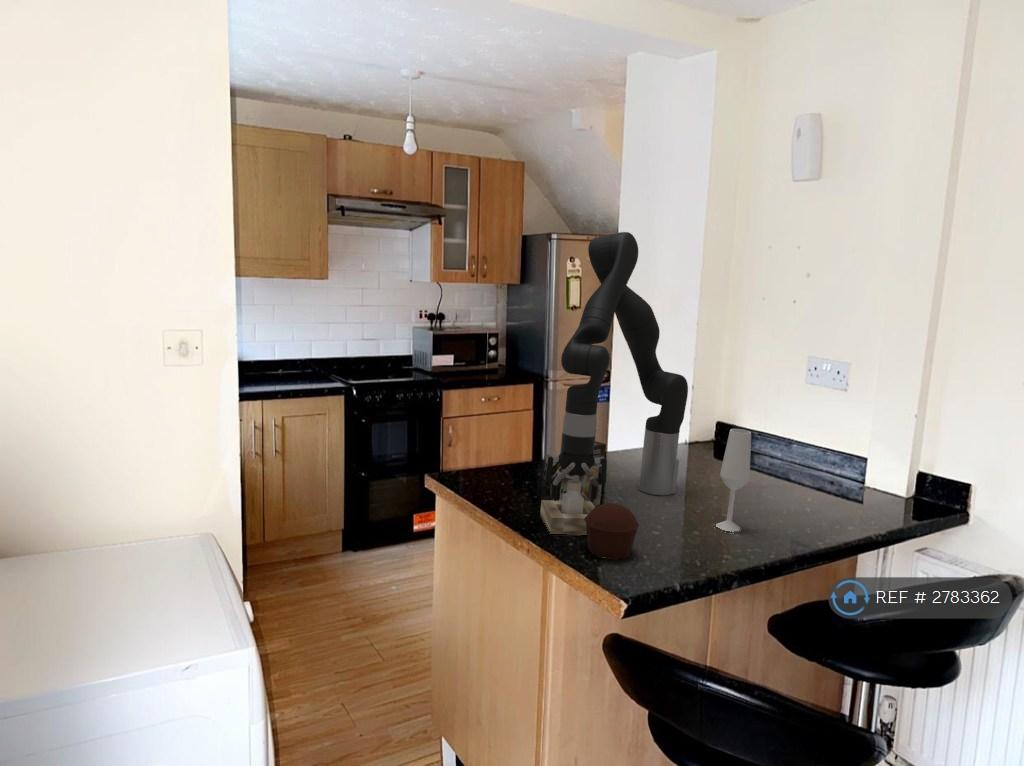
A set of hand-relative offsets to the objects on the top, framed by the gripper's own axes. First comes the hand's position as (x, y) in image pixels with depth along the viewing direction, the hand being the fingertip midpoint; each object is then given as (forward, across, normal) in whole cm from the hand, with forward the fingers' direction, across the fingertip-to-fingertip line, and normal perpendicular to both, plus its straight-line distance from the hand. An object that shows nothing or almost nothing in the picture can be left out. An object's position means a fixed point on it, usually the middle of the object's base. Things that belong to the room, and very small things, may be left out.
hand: (572, 500), depth 160 cm
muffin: (+6, -5, +15) cm, 17 cm away
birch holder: (+6, 0, 0) cm, 6 cm away
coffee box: (+6, -6, -15) cm, 17 cm away
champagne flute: (+6, -39, 0) cm, 40 cm away
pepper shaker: (+5, 0, 0) cm, 5 cm away
